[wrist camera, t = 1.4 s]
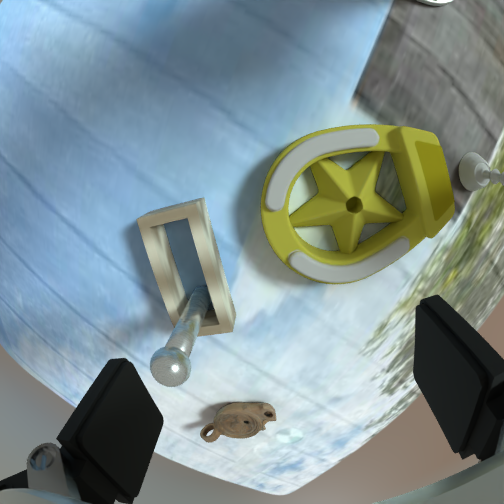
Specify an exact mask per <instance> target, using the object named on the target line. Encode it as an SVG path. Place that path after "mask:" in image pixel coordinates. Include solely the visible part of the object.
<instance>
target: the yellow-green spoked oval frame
mask: <svg viewBox="0 0 504 504" xmlns="http://www.w3.org/2000/svg"><path fill="white" fill-rule="evenodd" d="M364 151H371V152H370V153H368V154H367V155H366V156H364V157H363V158H362V159H361V160H359V161H358V162H357V163H356V164H354V165H353V166H352V167H351V168H349V169H348V170H344V169H343V168H341V167H340V166H339V165H337V164H336V163H334V162H333V161H331V160H330V159H328V158H327V157H331V156H335V155H340V154H346V153H353V152H364ZM385 152H390V154H391V157H392V160H393V163H394V166H395V169H396V173H397V176H398V179H399V183H400V186H401V190H402V193H403V197H404V201H405V205H406V210H405V211H404V212H403V213H401V212H399V211H398V210H397V209H396V208H395V207H393V206H392V205H391V204H390V203H388V202H387V201H386V200H384V199H383V198H382V197H381V196H379V195H378V194H377V193H376V192H375V187H376V183H377V180H378V176H379V172H380V169H381V165H382V161H383V157H384V154H385ZM309 166H310V168H311V171H312V173H313V176H314V179H315V181H316V184H317V187H318V193H317V194H316V195H315V196H314V197H313V198H311V199H310V200H309V201H308V202H306V203H305V204H304V205H303V206H301V207H300V208H299V209H298V210H296V211H295V212H294V213H293V214H291V215H290V216H289V212H288V205H289V198H290V194H291V191H292V188H293V186H294V184H295V182H296V180H297V179H298V177H299V176H300V175H301V174H302V172H303V171H304V170H305V169H306V168H308V167H309ZM454 202H455V201H454V196H453V191H452V187H451V182H450V178H449V174H448V170H447V166H446V162H445V158H444V154H443V151H442V147H441V146H440V144H439V141H438V139H437V137H436V136H435V134H433V133H432V132H428V131H424V130H420V129H415V128H411V127H406V126H400V127H398V126H390V125H376V124H367V125H349V126H341V127H335V128H329V129H325V130H321V131H316V132H314V133H311V134H308V135H306V136H304V137H302V138H300V139H298V140H296V141H295V142H293V143H292V144H290V145H289V146H288V147H287V148H286V149H284V150H283V151H282V153H281V154H280V155H279V156H278V157H277V158H276V160H275V161H274V163H273V164H272V166H271V168H270V170H269V172H268V174H267V176H266V179H265V182H264V186H263V191H262V196H261V218H262V224H263V228H264V232H265V234H266V237H267V239H268V242H269V244H270V245H271V247H272V249H273V250H274V252H275V253H276V255H277V256H278V257H279V258H280V260H281V261H282V262H283V263H284V264H285V265H287V266H288V267H289V268H290V269H291V270H293V271H294V272H296V273H297V274H299V275H301V276H303V277H305V278H307V279H310V280H313V281H316V282H320V283H326V284H346V283H352V282H355V281H359V280H362V279H365V278H367V277H369V276H371V275H373V274H375V273H377V272H378V271H380V270H382V269H384V268H385V267H387V266H389V265H390V264H392V263H394V262H395V261H397V260H398V259H399V258H401V257H402V256H404V255H405V254H406V253H408V252H409V251H410V250H411V249H413V248H414V247H415V246H416V245H417V244H419V243H420V242H421V241H422V240H423V239H424V238H425V237H428V238H433V237H435V235H436V234H437V233H438V232H439V231H440V230H441V229H442V228H443V227H444V226H445V225H446V223H447V222H448V221H449V220H450V219H451V218H452V216H453V214H454V211H455V206H454ZM387 222H391V223H390V224H389V225H388V226H386V227H385V228H384V229H382V230H381V231H379V232H378V233H376V234H375V235H373V236H371V237H370V238H368V239H367V240H365V241H363V242H361V243H359V244H358V241H359V238H360V235H361V232H362V229H363V226H364V225H365V224H367V223H387ZM319 225H330V226H332V229H333V232H334V234H335V237H336V240H337V244H338V247H339V250H340V251H327V250H322V249H319V248H316V247H314V246H312V245H310V244H308V243H307V242H305V241H304V240H303V239H302V238H301V237H300V236H299V235H298V234H297V232H296V231H295V229H294V228H293V227H300V226H319Z"/></svg>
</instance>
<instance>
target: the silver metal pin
mask: <svg viewBox="0 0 504 504" xmlns="http://www.w3.org/2000/svg"><path fill="white" fill-rule="evenodd" d="M210 302H211V296H210V293H209V290H208V287H206V286H198V287H196V288H195V290H194V292H193V294H192V295H191V297H190V299H189V301H188V303H187V305H186V307H185V309H184V311H183V313H182V314H181V316H180V318H179V320H178V322H177V324H176V326H175V328H174V330H173V332H172V334H171V336H170V338H169V340H168V342H167V344H166V346H165V347H162V348H160V349H158V350H157V351H156V352H155V353H154V354H153V356H152V358H151V361H150V371H151V373H152V376H153V377H154V379H155V380H156V381H157V382H159V383H160V384H162V385H164V386H167V387H176V386H179V385H181V384H183V383H184V382H185V381H186V380H187V379H188V378H189V376H190V373H191V362H190V359H189V356H190V353H191V351H192V348H193V346H194V343H195V340H196V338H197V335H198V333H199V330H200V327H201V325H202V322H203V320H204V317H205V315H206V312H207V309H208V307H209V304H210Z"/></svg>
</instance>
